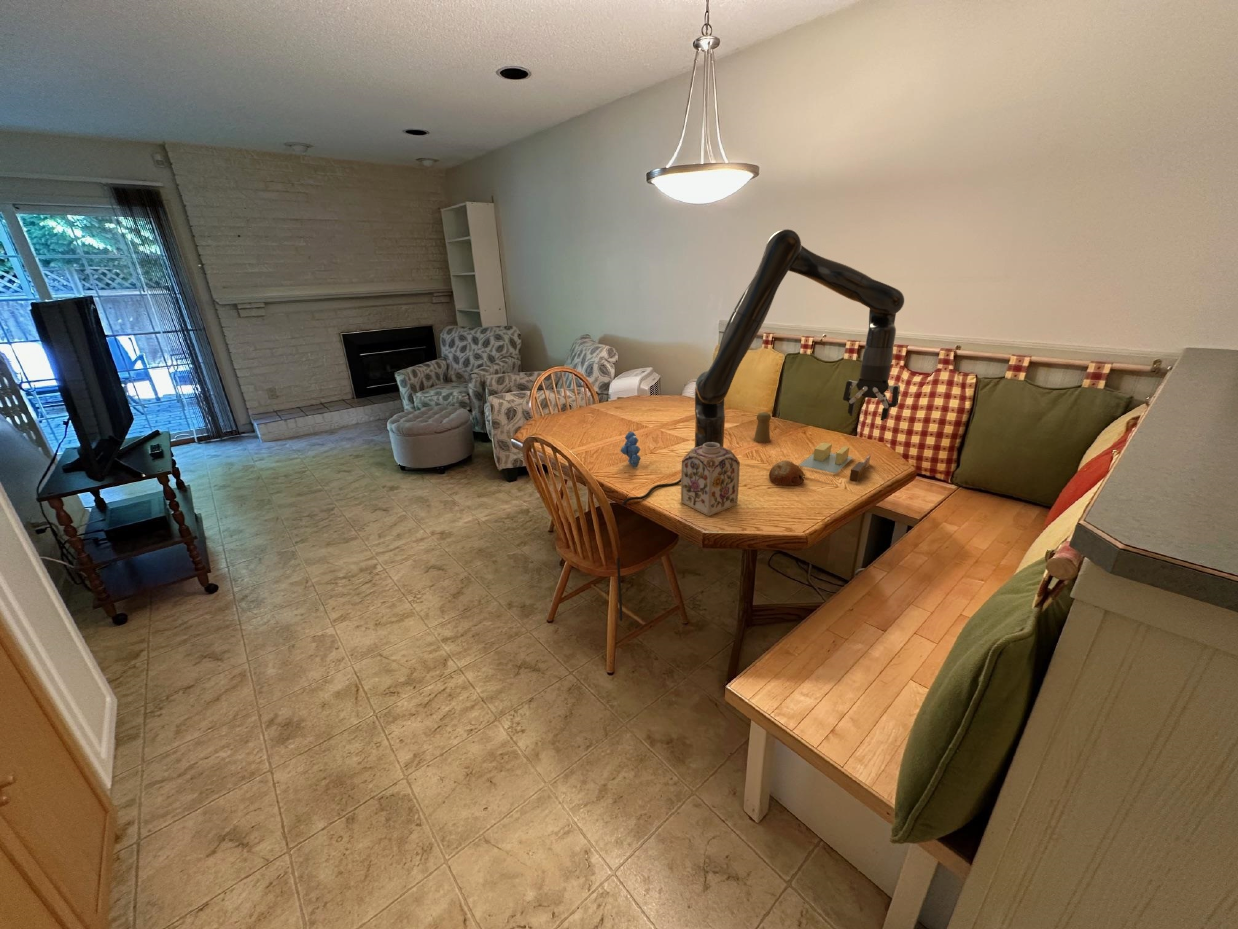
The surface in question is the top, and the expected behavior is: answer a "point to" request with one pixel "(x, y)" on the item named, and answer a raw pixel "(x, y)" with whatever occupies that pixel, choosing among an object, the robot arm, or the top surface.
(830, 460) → the butter dish
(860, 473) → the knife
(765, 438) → the cork
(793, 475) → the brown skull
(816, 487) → the top surface
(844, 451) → the butter slice
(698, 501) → the decorative jar
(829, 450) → the butter
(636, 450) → the grapes
